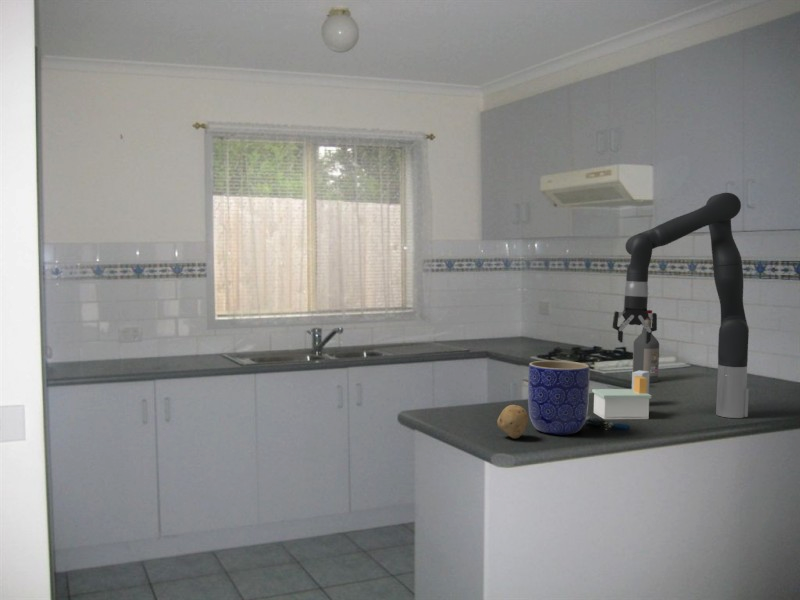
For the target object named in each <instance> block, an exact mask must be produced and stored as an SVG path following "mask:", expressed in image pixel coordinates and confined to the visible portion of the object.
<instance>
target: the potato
mask: <svg viewBox="0 0 800 600" xmlns="http://www.w3.org/2000/svg"><path fill="white" fill-rule="evenodd" d="M496 422H497V426H498V428H499V429H500V430H501V431H503V432H504V433H506V435H508V437H509V438H512V439H518V438H520V437H521V436H522V435H523V434H524V432H525V431H526V429H527V427H528V423H529V413H528V412H527V411H526V409H525V408H524V407H522V406H520V405H518V404H510V405H507V406H506V407H504V408H503V410H502V411H501V412H500V415H499V416H498V418H497V421H496Z"/></svg>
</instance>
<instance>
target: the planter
mask: <svg viewBox="0 0 800 600" xmlns="http://www.w3.org/2000/svg"><path fill="white" fill-rule="evenodd" d="M590 369H591V368H590V365H588V364H586V363H583V362H576V361H571V360H570V361H569V360H538V361H537V360H536V361H532V362H530V363H528V374H527V375H528V381H527V383H528V385H527V387H528V388H527V397H528V398H527V401H528V402H527V404H528V405H527V406H528V417H529V419H530V421H531V423H532V425H533V427H534V428H535V429H536V430H537V431H539V432H541V433H544V434H549V435H557V436H559V435H560V436H568V435H574V434H576V433H578V432H579V431H580V430H581V429H582V428H583V426H584V425H585V423H586V421H587V418H588V413H589V412H588V411H589V399H590V383H591V382H590V376H591V375H590V373H591V371H590Z"/></svg>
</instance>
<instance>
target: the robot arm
mask: <svg viewBox="0 0 800 600" xmlns="http://www.w3.org/2000/svg"><path fill="white" fill-rule="evenodd" d="M741 208H742V203H741V200H740V198H739V196H737V195H736V194H735V193H732V192H721V193H717V194H714V195H712V196H710V197H709V198H708V200H707V201H706V203H705V205H703V206H701V207H700V208H698V209H695V210H693V211H690V212H688V213H685V214H682V215H680V216H677V217H674V218H672V219H670V220H667V221H665V222H663V223H661V224H658V225H656V226H655V227H653V228H651V229H647V230H645V231H642V232H639V233H637V234H635V235H633V236H631V237H628V239H627V240H626V242H625V251H626V252H627V253H628V255H630V263H629V264H628V265H627V267H626V280H625V287H624V300H623V302H624V303H623V305H624V306H623V311H622V312H621V311H616V310H615V311H613V320H612V326H611V327H612V329H614V330H616V331H617V341H618V342H619V344H620V343H623V340H624V331H623V330H624V329H625V328H626V327H627V326H628V325H630V326H634V325H635V326H642V328H643V327H644V328H645V330H646V336H645V343H646V344H648V342H650V340H651V332H652V333H653V332H656V331H657V330H658V329H657V328H658V320H657V319H658V315H657V313H656V312H652V313H648V312H647V310H648V300H649V299H648V298H649V268H650V264H651V260H652V256H653V250H654V249H656V248H659V247H663V246H667V245H668V244H671V243H674V242H675V241H678V240H680V239H681V238H684V237H686V236H687V235H689V234H692V233H694V232H696V231H698V230H700V229H702V228H704V227H707V226H708V230H709V234H710V244H711V246H710V247H711V255H712V257H711V258H712V268H713V279H714V284H715V289H716V292H717V297H718V299H719V306H720V307H719V308H720V325H719V326H720V327H719V329H718V341H717V342H718V347H717V378H716V379H717V382H716V385H717V386H716V408H715V414H716V416H719V417H723V418H727V419H728V418H730V419H742V418H743V419H744V418H748V416H749V398H750V397H749V395H750V393H749V391H750V389H749V388H748V387H747V381H748V380H747V378H748V377H747V376H748V362H749V361H748V359H749V357H748V356H749V352H748V351H749V337H750V336H749V333H750V332H749V331H750V328H749V326H748V325H749V324H748V323H747V317H746V313H745V307H744V270H743V268H744V267H743V261H742V256H741V252H740V251H739V248H738V246H737V243H736V241H735V239H734V236H733V231H732V219H733V218H735V217H737V216H738V215H739V213H740V212H741ZM648 316H649V317H650V319H651V328H649V326H648V325H647V323H646V322H645V320H646V319H647V317H648ZM621 317H623V319H624V320H623V321H622V322H621V324H620V325H619V324H618V323H619V319H620V318H621ZM618 325H619V326H618Z"/></svg>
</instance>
